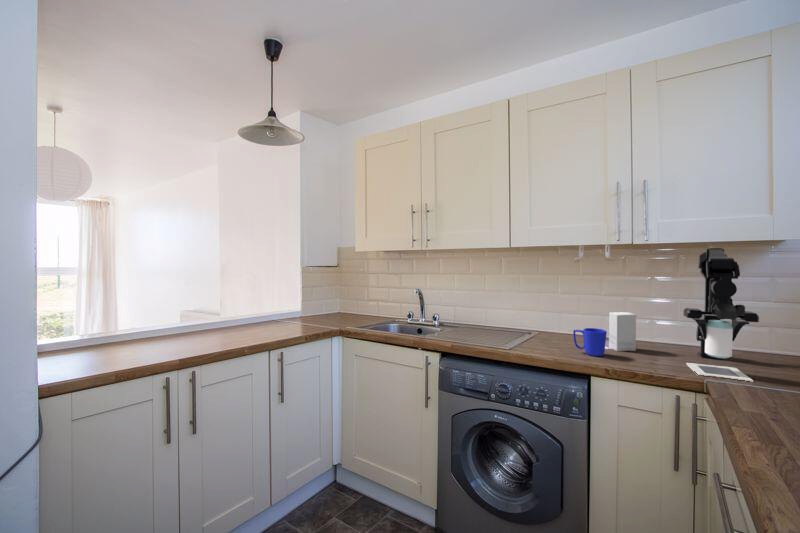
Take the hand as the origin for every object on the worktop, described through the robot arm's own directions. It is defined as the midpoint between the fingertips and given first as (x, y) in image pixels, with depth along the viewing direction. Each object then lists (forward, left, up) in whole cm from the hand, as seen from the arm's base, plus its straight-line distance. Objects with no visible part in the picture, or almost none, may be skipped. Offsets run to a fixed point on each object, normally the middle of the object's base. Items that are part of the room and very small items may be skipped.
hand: (718, 339), depth 125 cm
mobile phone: (-27, -30, -12) cm, 42 cm away
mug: (-7, -39, -12) cm, 41 cm away
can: (0, 0, -6) cm, 6 cm away
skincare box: (-21, -26, -12) cm, 35 cm away
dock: (0, 0, -11) cm, 11 cm away
